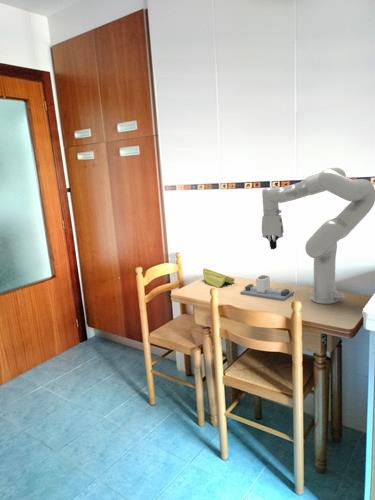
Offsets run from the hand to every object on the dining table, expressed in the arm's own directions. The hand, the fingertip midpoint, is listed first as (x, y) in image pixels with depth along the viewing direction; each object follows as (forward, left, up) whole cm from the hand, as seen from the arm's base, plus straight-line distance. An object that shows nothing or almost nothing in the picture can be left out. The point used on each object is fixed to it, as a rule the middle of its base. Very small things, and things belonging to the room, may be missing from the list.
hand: (273, 248), depth 197 cm
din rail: (+2, +6, -21) cm, 22 cm away
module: (+4, +6, -21) cm, 22 cm away
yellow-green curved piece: (+36, -1, -23) cm, 43 cm away
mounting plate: (+2, +6, -23) cm, 23 cm away
